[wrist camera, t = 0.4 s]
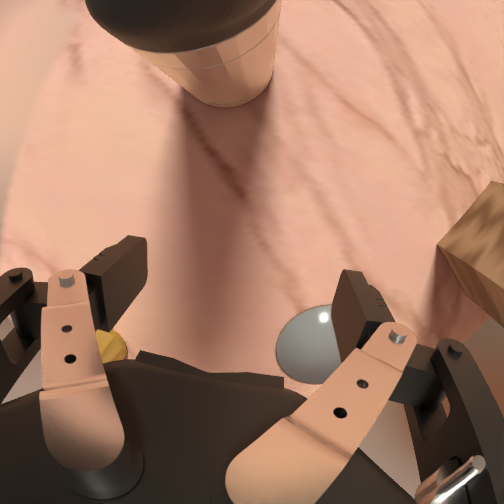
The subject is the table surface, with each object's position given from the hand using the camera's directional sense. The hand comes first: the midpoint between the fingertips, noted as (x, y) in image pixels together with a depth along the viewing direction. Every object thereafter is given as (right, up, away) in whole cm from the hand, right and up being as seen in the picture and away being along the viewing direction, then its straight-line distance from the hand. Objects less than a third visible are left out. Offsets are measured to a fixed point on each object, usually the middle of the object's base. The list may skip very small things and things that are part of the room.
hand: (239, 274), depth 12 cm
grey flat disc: (+9, -11, +24) cm, 28 cm away
